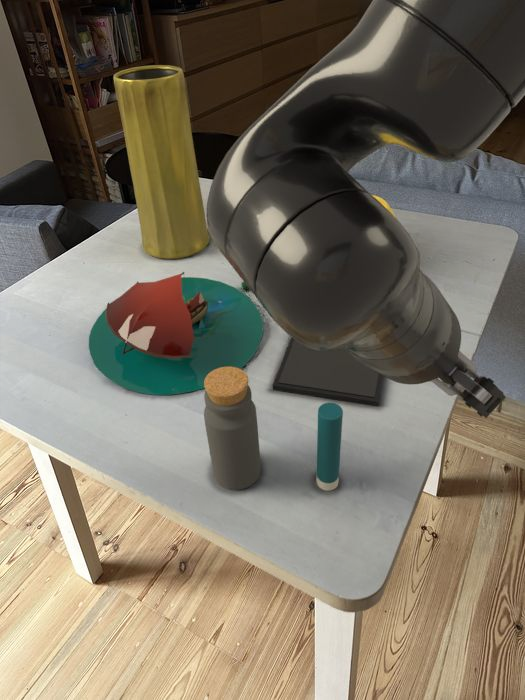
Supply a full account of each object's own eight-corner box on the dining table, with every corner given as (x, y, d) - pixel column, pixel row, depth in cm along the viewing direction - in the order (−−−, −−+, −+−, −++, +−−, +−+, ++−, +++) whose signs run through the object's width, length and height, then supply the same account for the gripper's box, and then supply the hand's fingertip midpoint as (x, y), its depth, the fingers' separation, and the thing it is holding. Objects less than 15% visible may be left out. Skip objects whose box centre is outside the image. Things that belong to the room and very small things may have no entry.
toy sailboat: (56, 345, 87) (34, 291, 80) (181, 266, 102) (173, 214, 95) (173, 433, 74) (159, 378, 66) (297, 327, 89) (298, 273, 81)
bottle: (230, 446, 69) (218, 356, 60) (269, 463, 66) (263, 372, 57) (204, 479, 65) (187, 388, 56) (245, 498, 63) (234, 407, 53)
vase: (212, 255, 108) (190, 77, 88) (142, 264, 107) (103, 85, 87) (207, 225, 119) (187, 60, 99) (143, 233, 118) (109, 67, 97)
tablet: (392, 322, 88) (392, 317, 87) (378, 406, 73) (379, 401, 73) (302, 311, 92) (302, 306, 91) (272, 389, 77) (272, 384, 76)
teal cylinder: (340, 475, 65) (344, 404, 57) (336, 492, 63) (340, 421, 55) (318, 471, 65) (320, 400, 58) (314, 488, 63) (315, 417, 56)
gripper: (516, 345, 35) (531, 383, 49) (363, 235, 42) (413, 296, 56) (438, 429, 36) (474, 444, 50) (302, 309, 44) (366, 350, 57)
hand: (442, 366), depth 53 cm, fingers open, 8 cm apart
